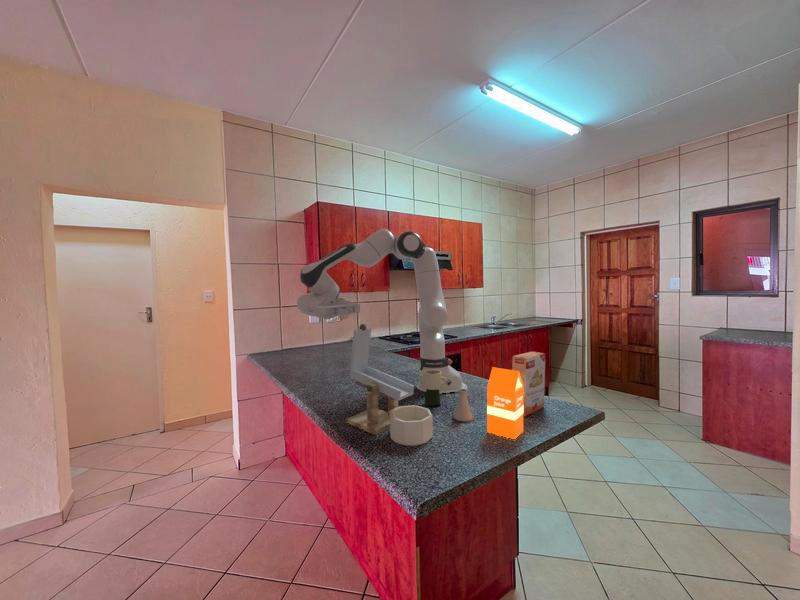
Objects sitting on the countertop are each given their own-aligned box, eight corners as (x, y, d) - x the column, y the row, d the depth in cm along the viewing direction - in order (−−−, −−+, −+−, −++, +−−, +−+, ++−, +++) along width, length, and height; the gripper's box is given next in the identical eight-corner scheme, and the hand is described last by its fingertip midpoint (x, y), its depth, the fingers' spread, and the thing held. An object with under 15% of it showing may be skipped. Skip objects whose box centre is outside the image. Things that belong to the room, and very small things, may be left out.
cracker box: (526, 417, 110) (526, 358, 109) (510, 412, 115) (510, 355, 114) (545, 408, 119) (546, 352, 118) (530, 403, 124) (530, 350, 123)
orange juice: (496, 424, 105) (496, 364, 104) (523, 431, 100) (524, 368, 99) (486, 432, 99) (486, 369, 98) (514, 440, 94) (515, 374, 93)
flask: (458, 423, 106) (458, 394, 106) (449, 415, 113) (449, 387, 113) (477, 421, 108) (477, 392, 107) (467, 413, 115) (467, 385, 114)
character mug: (448, 402, 125) (448, 370, 125) (444, 409, 118) (444, 375, 118) (421, 399, 129) (421, 368, 128) (416, 405, 122) (416, 372, 122)
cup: (427, 425, 104) (427, 404, 104) (435, 444, 92) (435, 420, 91) (389, 427, 103) (388, 406, 103) (391, 446, 91) (391, 422, 90)
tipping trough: (347, 382, 110) (353, 324, 107) (363, 377, 116) (368, 322, 113) (397, 406, 96) (405, 340, 93) (412, 400, 101) (419, 337, 98)
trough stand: (345, 423, 107) (345, 379, 106) (374, 411, 117) (373, 371, 116) (375, 435, 98) (375, 387, 97) (403, 421, 108) (402, 377, 108)
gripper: (303, 301, 115) (327, 305, 106) (346, 298, 131) (369, 301, 122) (303, 318, 116) (326, 323, 107) (345, 313, 132) (369, 317, 123)
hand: (350, 311), depth 115 cm, fingers closed
